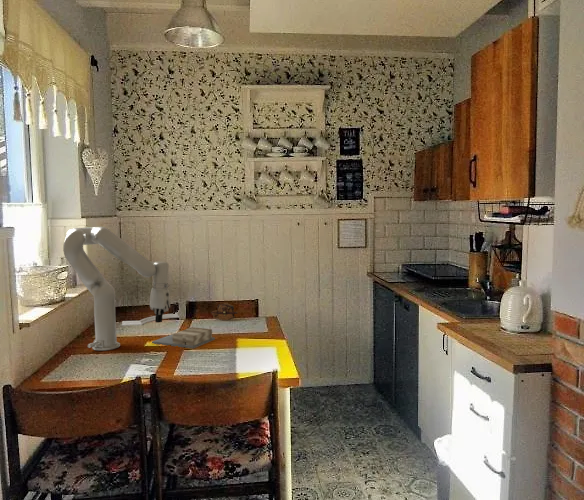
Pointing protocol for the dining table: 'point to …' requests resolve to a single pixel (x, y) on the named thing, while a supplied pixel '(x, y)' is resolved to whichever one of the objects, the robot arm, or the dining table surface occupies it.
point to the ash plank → (178, 336)
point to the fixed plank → (197, 336)
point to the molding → (151, 319)
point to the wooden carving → (224, 312)
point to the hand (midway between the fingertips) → (158, 322)
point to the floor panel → (169, 341)
